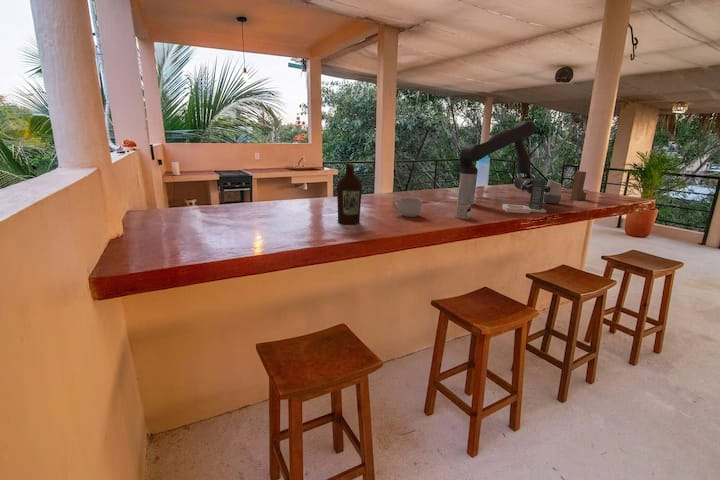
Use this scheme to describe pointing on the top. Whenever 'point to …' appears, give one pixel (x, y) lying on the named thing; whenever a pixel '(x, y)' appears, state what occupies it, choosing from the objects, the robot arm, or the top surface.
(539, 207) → the can
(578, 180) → the wooden block
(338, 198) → the olive oil
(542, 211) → the white rectangular plate
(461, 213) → the mug
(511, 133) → the robot arm
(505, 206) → the well rim
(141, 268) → the top surface
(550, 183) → the smart speaker
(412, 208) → the teacup
